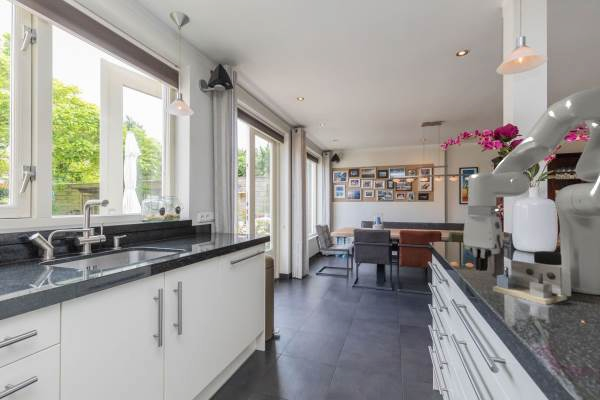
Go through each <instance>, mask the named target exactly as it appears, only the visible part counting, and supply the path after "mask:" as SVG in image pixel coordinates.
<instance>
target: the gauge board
mask: <svg viewBox="0 0 600 400" xmlns="http://www.w3.org/2000/svg"><path fill="white" fill-rule="evenodd" d="M510 273H511V274H510V275H512V276H516V284H517V287H516V288H511V289H506V288H502V287H498V286H497V285H495V286H492V292H494V293H495V292H496V293H500V294H503V295H508V296H510V297H513V298H514V297H515V298H518V299H522V300H525V299H526V300H527V301H528V302H533V303H537V304H540V305H544V306H546V305H551V304H555V303H559V302H563V301H566V300H568V296H567V295H565V294H562V268H559V267H552V266H546V265H540V264H534V263H532V262H526V261H519V260H512V259H511V260H510Z"/></svg>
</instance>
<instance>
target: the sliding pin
mask: <svg viewBox="0 0 600 400" xmlns="http://www.w3.org/2000/svg"><path fill="white" fill-rule="evenodd" d="M496 286H498V287H502V288H506V289H511V288H516V287H517V284H516V276H512V275H511V274H509V267H508V266H504V274H498V275H496Z"/></svg>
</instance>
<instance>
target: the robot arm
mask: <svg viewBox="0 0 600 400" xmlns="http://www.w3.org/2000/svg"><path fill="white" fill-rule="evenodd" d="M582 123H584V124H585V125H586V126H587V127H588V129H589V130H588V131H589V137H588V140H587V143H586V145H585V147H584V149H583V151H582V153H581V155H580V156H579V157H580V158H579V159H578V161H577V164H576V166H575V174H576V177H577V178H578V179H580V180H581V181H585V182H583V183H576V184H570V185H567V186H564V187H563V188H561V189H560V190H559V191H558V192H557V193H556V195H555V199H554V201H555V202H554V205H555V208H556V211H557V215H558V220H559V235H560V237H559V239H560V240H559V241H560V242H559V243H560V245H559V246H560V255H561V258H562V267H561V268H562V269H563V270H566V271H569V272H570V273H571V292H575V293H579V294H580V293H581V294H586V295H595V296H596V295H598V296H600V86H597V87H593V88H589V89H585V90H582V91H578V92H575V93H572V94H571V95H569V96H566V97H564V98H562V99H560V100H559V101H556V102H555V103H552V104H551V105H550V106H549V107H547V109H545V111H544V112H543V113H542V115H541V116H540V117H539V118H538V120H537V121H536V123H535V124H534V126H532V127H531V130H529V132H528V133H527V135H526V136H525V137H524V138H523V139H522V141H521V142H520V143H519V144H517V146H515V147H514V149H512V150H511V152H510V153H508V154H507V155H506V156H504V158H503V159H502V160H501V161H500V162H499V164H497V166H496V167H495V169H493V171H492V172H477V173H472V174H470V175H469V176H468V178H467V179H468V180H467V181H468V184H467V185H468V186H467V187H468V188H467V215H466V216H465V220H464V225H463V239H462V241H463V243H464V249H466V250H467V251H470V252H471V254H472V256H473V257H474V266H475V270H476V271H479V272H483V271H485V272H486V271H488V268H489V267H488V265H489V263H488V261H489V260H488V259H490V257H491V256H493V255H496V254H497V255H498V254H501V249H502V248H503V246H504V242H503V228H502V224H501V219H500V216H497V214H500V213H501V209H500V208H497V198H508V197H509V198H513V197H518V196H521V195H524V194H526V193H527V192H528V191H529V189H530V187H531V179H530V178H529V177H528V175H526V174H525V173H524V172H526V171H527V170H529V168H531V167H533V166H534V165H536V164H538V163H540V162H542V161H543V160H545V159H547V158H548V157H549V156H551V155H552V154H553V153H554V152H555V151H556V149H557V148H558V147H559V145H560V144H561V143H562V142H563V140H564V139H565V138H566V136H567V135H568V134H569V133H570V132H571V130H572V129H573V128H574V127H575V126H576V125H578V124H582Z"/></svg>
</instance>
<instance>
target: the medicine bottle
mask: <svg viewBox="0 0 600 400" xmlns="http://www.w3.org/2000/svg"><path fill="white" fill-rule="evenodd" d="M533 260H534V261H533V262H534V263H533V264H540V265H546V266H552V267H559V268H561V267H562V258H561V253H559V252H555V251H548V250H546V251H545V250H539V251H538V250H537V251H535V252H534V253H533ZM562 294H565V295H567V297H572V291H571V273H570V272H569V271H566V270H563V269H562Z"/></svg>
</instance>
